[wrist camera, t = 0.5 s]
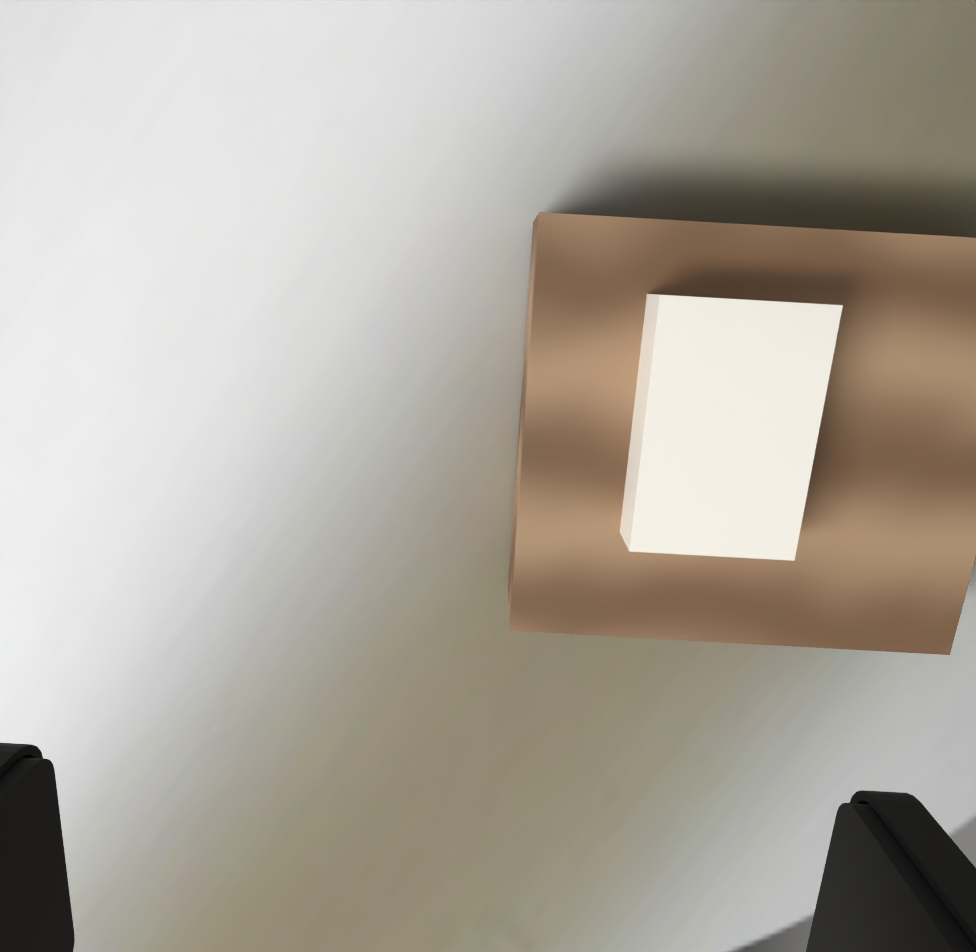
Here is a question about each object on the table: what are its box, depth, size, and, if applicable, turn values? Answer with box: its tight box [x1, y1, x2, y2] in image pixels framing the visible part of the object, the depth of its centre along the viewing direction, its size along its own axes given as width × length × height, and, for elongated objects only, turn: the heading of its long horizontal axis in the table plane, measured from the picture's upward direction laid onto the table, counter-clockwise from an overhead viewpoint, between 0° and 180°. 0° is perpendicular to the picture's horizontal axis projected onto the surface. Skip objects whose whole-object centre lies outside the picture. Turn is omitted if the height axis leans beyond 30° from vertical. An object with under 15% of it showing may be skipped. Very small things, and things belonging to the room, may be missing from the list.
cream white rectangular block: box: [620, 294, 843, 561], centre depth 25 cm, size 9×6×2 cm, turn 177°
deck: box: [508, 212, 976, 655], centre depth 28 cm, size 16×18×4 cm
